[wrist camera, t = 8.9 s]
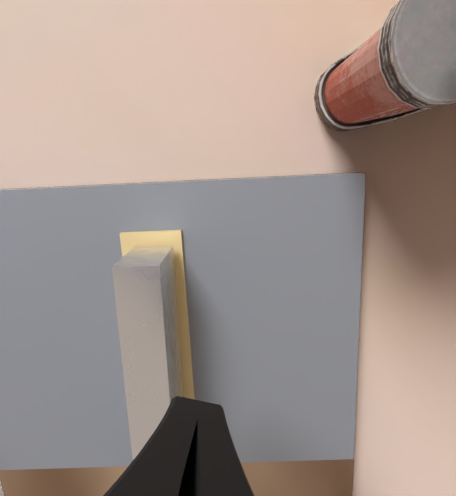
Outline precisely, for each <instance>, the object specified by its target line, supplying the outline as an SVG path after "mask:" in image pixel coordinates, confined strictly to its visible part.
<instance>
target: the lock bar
mask: <svg viewBox="0 0 456 496" xmlns="http://www.w3.org/2000/svg"><path fill="white" fill-rule="evenodd" d="M112 275H113V284H114V293H115V302H116V312H117V321H118V330H119V339H120V348H121V358H122V367H123V376H124V385H125V394H126V404H127V413H128V422H129V431H130V440H131V449H132V459H133V460H134V459H135V457H136V456H137V455H138V454H139V452H140V451H141V450H142V448H143V447H144V445H145V444H146V443H147V441H148V440H149V438H150V437H151V435H152V434H153V433H154V431H155V430H156V428H157V427H158V425H159V423H160V422H161V420H162V419H163V417H164V415H165V413H166V411H167V409H168V407H169V405H170V403H171V400H172V398H174V397H176V396H180V397H184V396H183V381H182V366H181V351H180V335H179V320H178V305H177V290H176V275H175V260H174V245H158V246H135V247H133V248H132V249H131V250H130V251H129V252H128V253H127V254H126V255H124V256H123V257H122V258H121V259H120V260H119V261H118V262H116V263H115V264H114V265H113V266H112Z"/></svg>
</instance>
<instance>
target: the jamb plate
mask: <svg viewBox="0 0 456 496" xmlns="http://www.w3.org/2000/svg"><path fill="white" fill-rule="evenodd" d="M353 464H354V459H342V460H310V461H278V462H246V463H241V465H242V468H243V470H244V473H245V475H246V478H247V480H248V482H249V485H250V487H251V489H252V491H253V494H254V496H352V489H353ZM127 467H128V466H119V467H87V468H55V469H23V470H0V480H1V484H2V488H3V492H4V496H103V495H104V494H105V493H106V492H107V491H108V490H109V489H110V487H111V486H112V485H113V484H114V483H115V482H116V481H117V480H118V478H119V477H120V476H121V475H122V474H123V472H124V471H125V470H126V469H127Z"/></svg>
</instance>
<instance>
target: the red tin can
mask: <svg viewBox="0 0 456 496" xmlns="http://www.w3.org/2000/svg"><path fill="white" fill-rule="evenodd" d="M314 100H315V106H316V110H317V112H318V114H319V116H320V118H321V120H322V121H323V122H324V123H325V124H326V125H327V126H328V127H331V128H333V129H335V130H338V131H347V130H352V129H357V128H362V127H367V126H372V125H377V124H382V123H387V122H391V121H394V120H397V119H400V118H403V117H406V116H409V115H412V114H415V113H418V112H421V111H425V110H428V109H431V108H436V107H441V106H446V105H451V104H456V0H400V1H399V2H398V3H397V4H396V5H395V6H394V7H393V8H392V9H391V10H390V11H389V13H388V15H387V17H386V19H385V21H384V24H383V26H382V28H381V29H380V30H379V31H378V32H376V33H375V34H374V35H373V36H372V37H371V38H370V39H368V40H367V41H366V42H365V43H364V44H362V45H361V46H359V47H358V48H356V49H355V50H353V51H352V52H350V53H349V54H347V55H346V56H344V57H343V58H341V59H340V60H338V61H337V62H335V63H334V64H333V65H332V66H330V67H329V68H328V69H327V70H326V71H325V72H324V73H323V74H322V75H321V76H320V78H319V81H318V83H317V85H316V88H315V96H314Z"/></svg>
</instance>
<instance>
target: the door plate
mask: <svg viewBox="0 0 456 496" xmlns="http://www.w3.org/2000/svg"><path fill="white" fill-rule="evenodd" d="M364 197H365V173H336V174H315V175H294V176H273V177H252V178H231V179H209V180H188V181H167V182H146V183H125V184H104V185H83V186H62V187H41V188H20V189H0V470H23V469H55V468H87V467H119V466H129V465H130V464H131V462H132V461H133V459H132V449H131V440H130V431H129V422H128V413H127V404H126V394H125V385H124V376H123V367H122V358H121V348H120V339H119V330H118V321H117V312H116V302H115V293H114V284H113V275H112V266H113V265H114V264H115V263H116V262H118V261H119V260H120V259H121V258H122V257H123V256H124V255H126V254H127V253H128V252H129V251H130V250H131V249H132V248H133V247H135V246H158V245H174V260H175V275H176V290H177V305H178V320H179V335H180V351H181V366H182V381H183V396H184V397H185V398H190V399H195V400H199V401H204V402H209V403H214V404H219V405H221V406H222V408H223V409H224V414H225V418H226V422H227V425H228V428H229V432H230V435H231V438H232V441H233V444H234V447H235V449H236V452H237V455H238V457H239V460H240V463H246V462H278V461H310V460H342V459H354V440H355V416H356V392H357V367H358V343H359V319H360V295H361V270H362V246H363V222H364Z"/></svg>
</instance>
